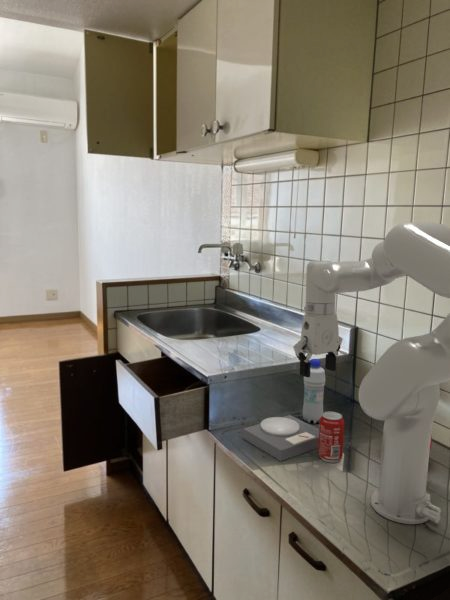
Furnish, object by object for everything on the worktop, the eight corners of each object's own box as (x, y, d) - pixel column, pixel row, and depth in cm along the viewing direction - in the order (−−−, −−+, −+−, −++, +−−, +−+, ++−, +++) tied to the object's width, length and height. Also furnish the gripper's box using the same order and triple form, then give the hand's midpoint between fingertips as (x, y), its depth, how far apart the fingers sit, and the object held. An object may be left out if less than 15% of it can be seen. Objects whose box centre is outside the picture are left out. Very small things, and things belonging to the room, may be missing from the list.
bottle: (317, 426, 145) (320, 363, 142) (297, 421, 149) (300, 359, 146) (326, 420, 151) (330, 358, 148) (307, 414, 155) (310, 354, 152)
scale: (328, 443, 134) (329, 430, 134) (280, 461, 124) (281, 446, 123) (289, 424, 147) (289, 411, 146) (243, 438, 137) (243, 425, 136)
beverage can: (340, 453, 129) (342, 411, 127) (343, 465, 123) (346, 420, 121) (316, 452, 129) (318, 409, 127) (319, 463, 123) (321, 419, 121)
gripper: (307, 313, 115) (304, 382, 118) (353, 307, 125) (350, 370, 128) (285, 309, 121) (283, 375, 124) (331, 304, 131) (329, 364, 134)
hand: (317, 372), depth 126 cm, fingers open, 9 cm apart
